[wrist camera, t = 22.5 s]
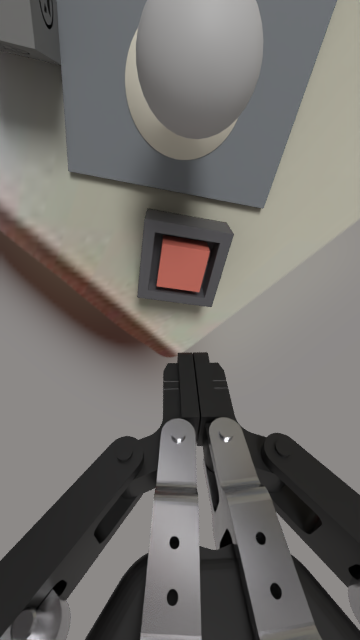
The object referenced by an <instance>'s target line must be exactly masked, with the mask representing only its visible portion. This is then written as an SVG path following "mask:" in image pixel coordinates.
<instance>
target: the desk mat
mask: <svg viewBox="0 0 360 640" xmlns="http://www.w3.org/2000/svg"><path fill="white" fill-rule="evenodd" d="M56 1H57V15H58V29H59V43H60V58H61V72H62V86H63V100H64V114H65V129H66V143H67V157H68V171H70V172H76V173H81V174H86V175H91V176H96V177H102V178H107V179H112V180H117V181H122V182H128V183H133V184H138V185H143V186H148V187H154V188H159V189H164V190H169V191H175V192H180V193H185V194H190V195H195V196H201V197H206V198H211V199H216V200H221V201H227V202H232V203H237V204H242V205H247V206H253V207H258V208H264V205H265V203H266V200H267V197H268V194H269V191H270V188H271V186H272V183H273V180H274V177H275V174H276V172H277V169H278V166H279V163H280V160H281V157H282V155H283V152H284V149H285V146H286V143H287V140H288V138H289V135H290V132H291V129H292V126H293V124H294V121H295V118H296V115H297V112H298V109H299V107H300V104H301V101H302V98H303V95H304V92H305V90H306V87H307V84H308V81H309V78H310V75H311V73H312V70H313V67H314V64H315V61H316V59H317V56H318V53H319V50H320V47H321V44H322V42H323V39H324V36H325V33H326V30H327V27H328V25H329V22H330V19H331V16H332V13H333V11H334V8H335V5H336V2H337V0H256V2H257V4H258V8H259V12H260V17H261V21H262V29H263V58H262V64H261V69H260V74H259V78H258V81H257V83H256V86H255V89H254V92H253V94H252V96H251V98H250V100H249V102H248V104H247V106H246V107H245V109H244V110H243V111H242V113H241V114H240V116H239V117H238V118H237V119H236V120H235V121H234V122H233V123H232V124H231V125H230V126H229V127H228V128H226V129H225V130H223V131H222V132H220V133H219V134H216V135H214V136H211V137H209V138H202V139H190V138H185V137H182V136H179V135H176V134H175V133H173V132H172V131H170V130H169V129H167V128H166V127H165V126H164V125H163V124H162V123H161V122H160V121H159V120H158V119H157V118H156V117H155V115H154V114H153V112H152V111H151V110H150V108H149V106H148V104H147V102H146V100H145V98H144V95H143V92H142V89H141V86H140V83H139V79H138V72H137V66H136V39H137V31H138V25H139V22H140V18H141V15H142V11H143V8H144V6H145V4H146V2H147V0H56Z"/></svg>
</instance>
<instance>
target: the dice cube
mask: <svg viewBox="0 0 360 640" xmlns="http://www.w3.org/2000/svg"><path fill="white" fill-rule="evenodd" d="M0 50H1V51H5V52H9V53H13V54H17V55H21V56H25V57H29V58H33V59H37V60H41V61H45V62H50V63H54V64H58V65H61V58H60V43H59V29H58V15H57V1H56V0H0Z"/></svg>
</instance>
